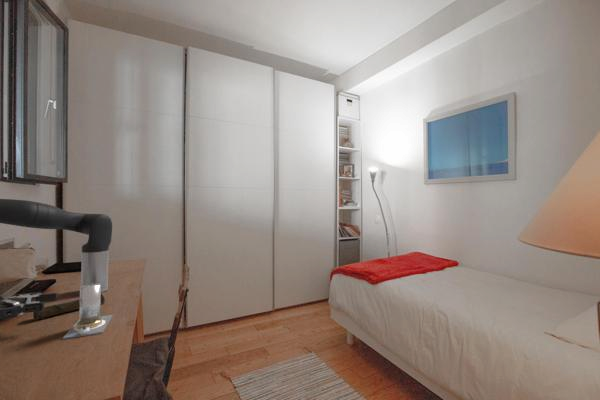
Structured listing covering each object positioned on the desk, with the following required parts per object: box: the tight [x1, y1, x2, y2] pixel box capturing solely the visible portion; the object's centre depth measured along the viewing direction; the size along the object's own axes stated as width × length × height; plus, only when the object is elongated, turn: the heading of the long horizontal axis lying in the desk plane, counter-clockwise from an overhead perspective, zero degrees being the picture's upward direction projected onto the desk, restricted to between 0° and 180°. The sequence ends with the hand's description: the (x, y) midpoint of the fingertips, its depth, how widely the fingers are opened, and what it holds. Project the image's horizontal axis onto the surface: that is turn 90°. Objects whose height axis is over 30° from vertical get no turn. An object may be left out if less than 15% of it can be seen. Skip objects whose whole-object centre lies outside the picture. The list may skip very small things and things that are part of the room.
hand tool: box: [32, 293, 106, 322], centre depth 92 cm, size 19×4×5 cm, turn 140°
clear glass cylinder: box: [77, 283, 102, 329], centre depth 81 cm, size 6×6×12 cm
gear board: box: [62, 314, 114, 340], centre depth 80 cm, size 13×9×2 cm
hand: (50, 301), depth 77 cm, fingers open, 8 cm apart
